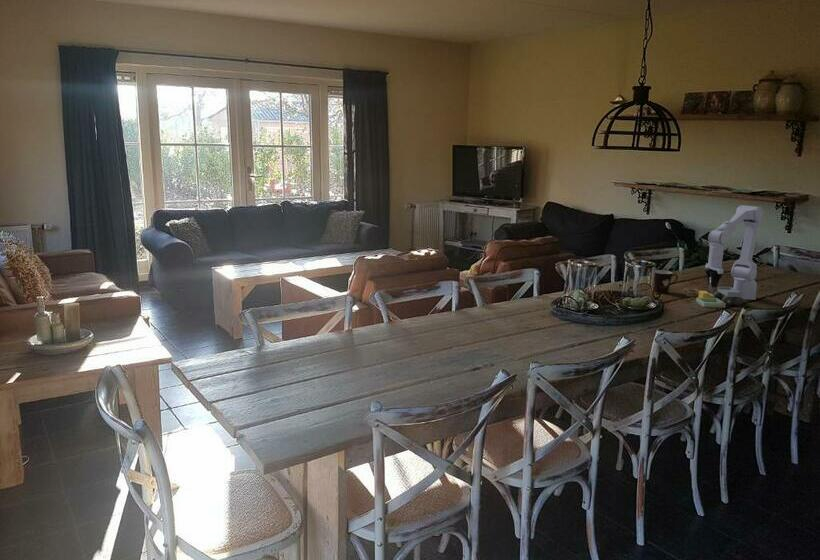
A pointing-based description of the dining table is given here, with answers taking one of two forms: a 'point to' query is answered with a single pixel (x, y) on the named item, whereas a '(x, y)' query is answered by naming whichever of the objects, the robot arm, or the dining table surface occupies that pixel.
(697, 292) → the pin socket
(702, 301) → the tray
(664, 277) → the coffee mug
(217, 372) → the dining table surface
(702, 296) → the block
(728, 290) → the trolley
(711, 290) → the stop pin
